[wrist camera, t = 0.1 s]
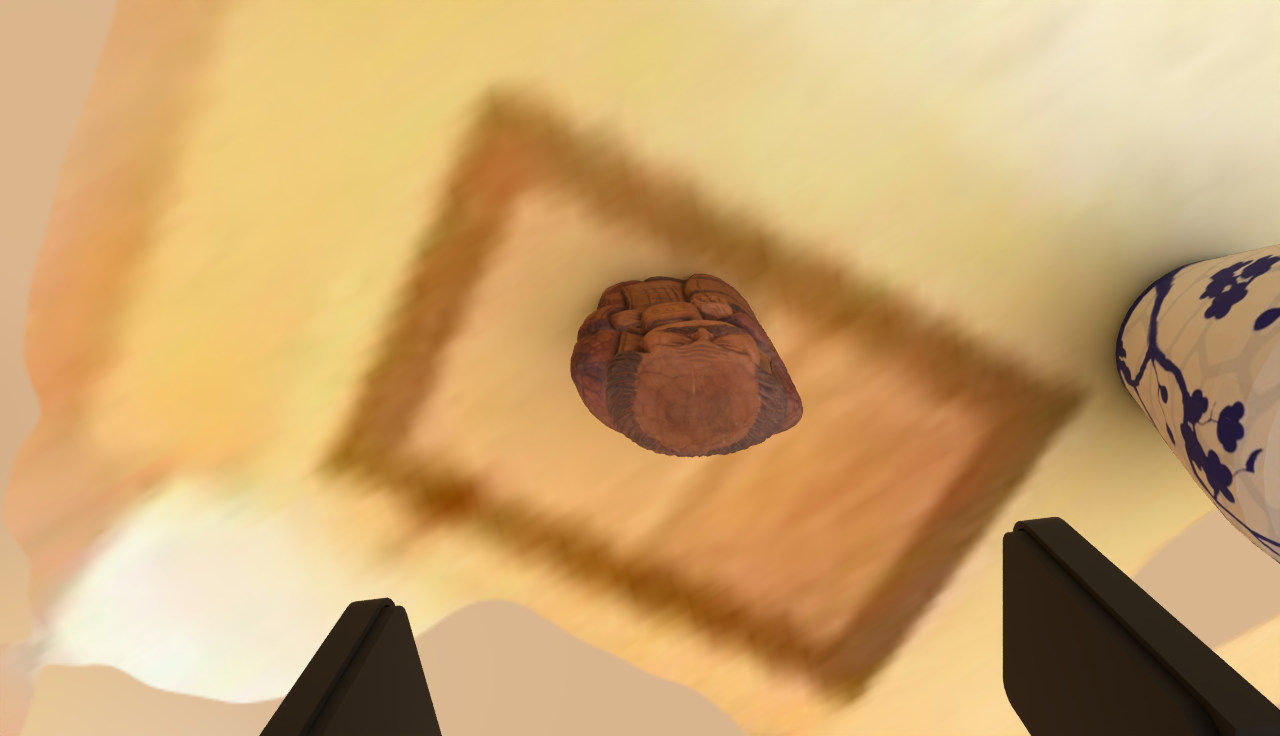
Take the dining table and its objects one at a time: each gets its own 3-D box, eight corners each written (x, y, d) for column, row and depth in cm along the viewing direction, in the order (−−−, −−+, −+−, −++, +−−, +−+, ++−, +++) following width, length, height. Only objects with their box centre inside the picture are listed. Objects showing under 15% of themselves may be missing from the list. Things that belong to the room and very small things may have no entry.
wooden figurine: (765, 270, 46) (831, 335, 29) (763, 361, 48) (825, 474, 31) (589, 275, 47) (551, 343, 29) (594, 366, 48) (561, 480, 31)
